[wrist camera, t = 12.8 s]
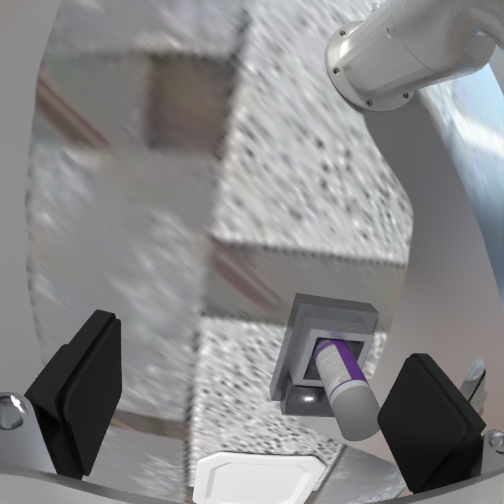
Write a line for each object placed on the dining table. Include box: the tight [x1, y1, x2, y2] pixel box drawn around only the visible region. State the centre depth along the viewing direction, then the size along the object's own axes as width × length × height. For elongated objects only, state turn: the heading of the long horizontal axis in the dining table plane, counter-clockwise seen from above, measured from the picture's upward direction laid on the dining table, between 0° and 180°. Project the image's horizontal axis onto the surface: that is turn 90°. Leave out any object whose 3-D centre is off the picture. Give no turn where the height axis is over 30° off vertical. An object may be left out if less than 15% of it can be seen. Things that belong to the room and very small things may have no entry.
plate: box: [193, 452, 326, 504], centre depth 53 cm, size 25×25×2 cm
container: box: [312, 337, 381, 441], centre depth 34 cm, size 5×5×15 cm
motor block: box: [270, 293, 379, 417], centre depth 40 cm, size 16×11×8 cm
